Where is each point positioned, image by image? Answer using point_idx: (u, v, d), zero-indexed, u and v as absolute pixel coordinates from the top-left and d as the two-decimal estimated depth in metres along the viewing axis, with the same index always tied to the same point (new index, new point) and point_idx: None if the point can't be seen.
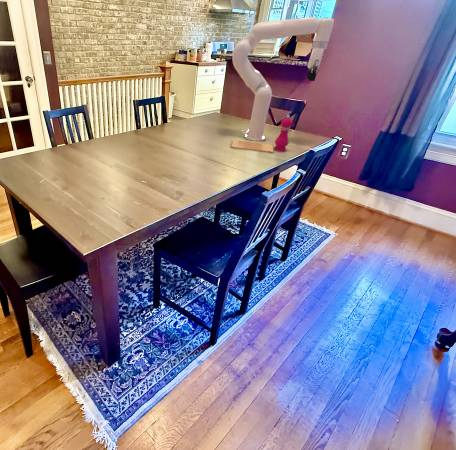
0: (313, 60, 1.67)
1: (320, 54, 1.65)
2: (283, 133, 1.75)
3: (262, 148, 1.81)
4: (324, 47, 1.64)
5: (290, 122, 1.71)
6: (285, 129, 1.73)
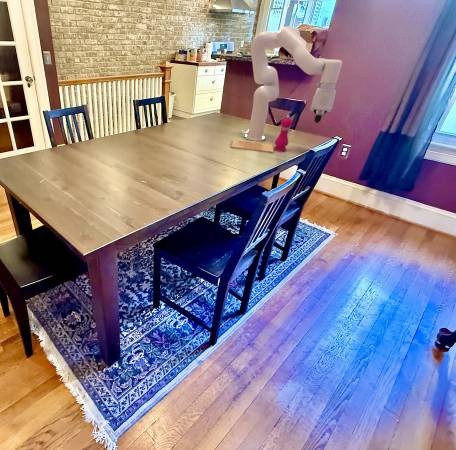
0: (333, 102, 1.60)
1: None
2: (283, 133, 1.75)
3: (262, 148, 1.81)
4: None
5: (290, 122, 1.71)
6: (285, 129, 1.73)
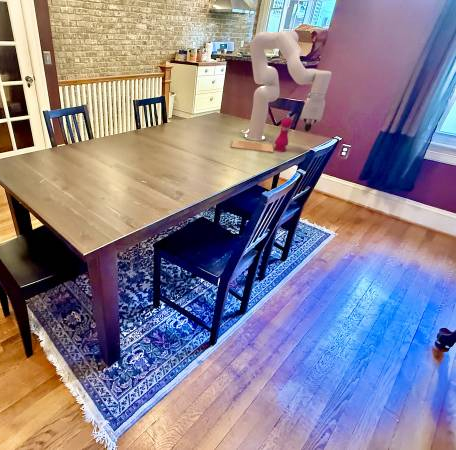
0: None
1: None
2: (283, 133, 1.75)
3: (262, 148, 1.81)
4: None
5: (290, 122, 1.71)
6: (285, 129, 1.73)
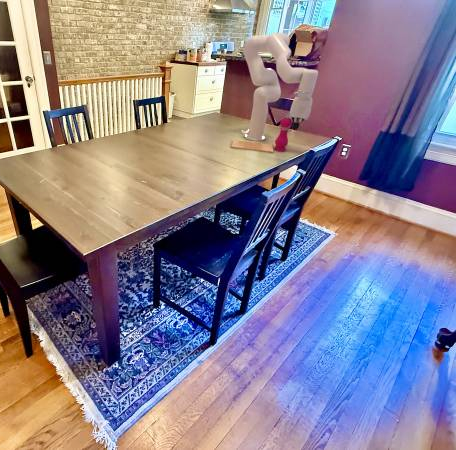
0: (310, 110, 1.65)
1: None
2: (283, 133, 1.75)
3: (262, 148, 1.81)
4: None
5: (289, 122, 1.71)
6: (284, 129, 1.73)
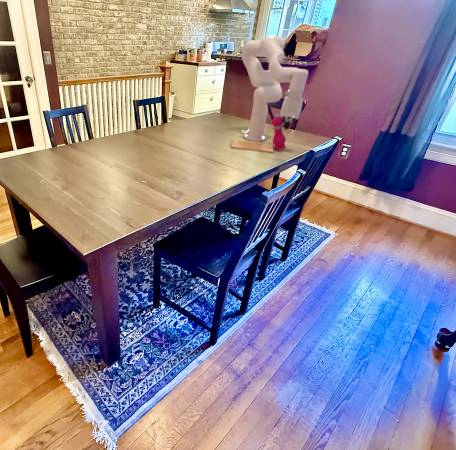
0: None
1: None
2: (277, 131, 1.75)
3: (262, 148, 1.81)
4: None
5: (280, 120, 1.72)
6: (278, 128, 1.74)
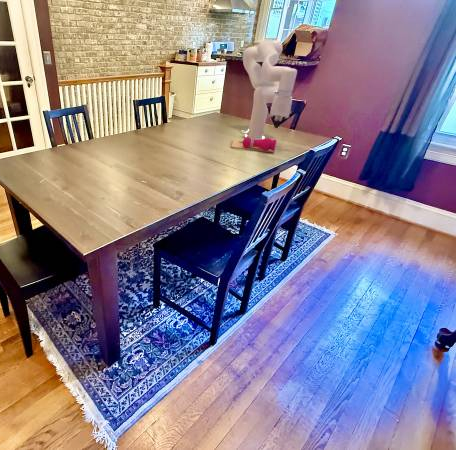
0: (290, 108, 1.68)
1: None
2: None
3: None
4: None
5: None
6: None
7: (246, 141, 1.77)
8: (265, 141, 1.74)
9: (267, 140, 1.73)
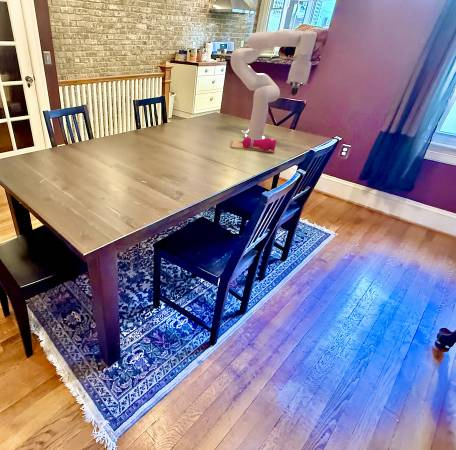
0: None
1: None
2: None
3: None
4: None
5: None
6: None
7: (246, 141, 1.77)
8: (265, 141, 1.74)
9: (267, 140, 1.73)
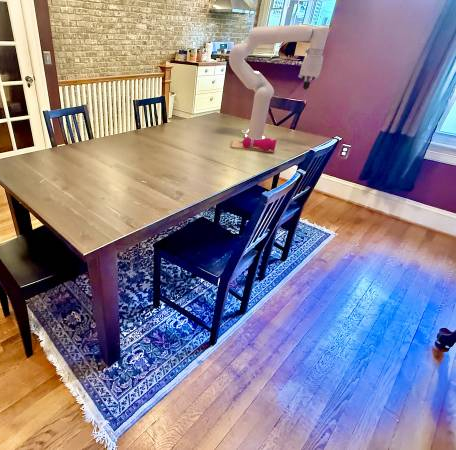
0: None
1: None
2: None
3: None
4: None
5: None
6: None
7: (246, 141, 1.77)
8: (265, 141, 1.74)
9: (267, 140, 1.73)
